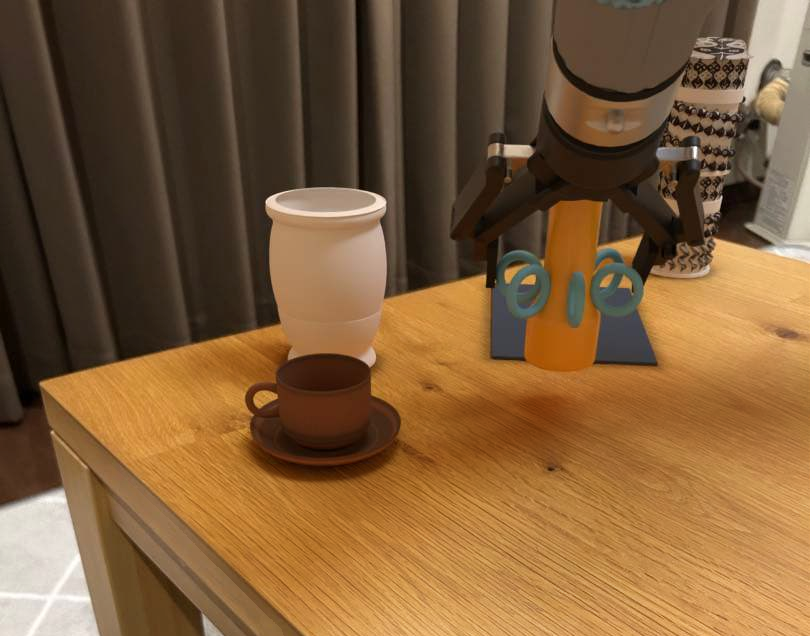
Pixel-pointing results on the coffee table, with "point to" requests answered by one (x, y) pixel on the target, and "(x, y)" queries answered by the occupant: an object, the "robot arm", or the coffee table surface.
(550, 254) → the cylinder
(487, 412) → the coffee table surface
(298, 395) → the cup and saucer
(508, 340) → the dark grey flat rectangle
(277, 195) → the jar
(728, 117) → the decorative candle
